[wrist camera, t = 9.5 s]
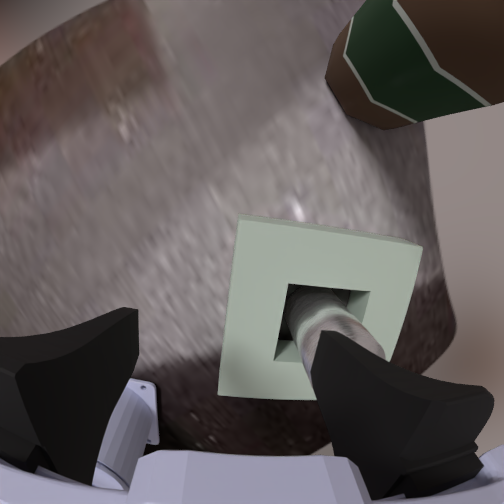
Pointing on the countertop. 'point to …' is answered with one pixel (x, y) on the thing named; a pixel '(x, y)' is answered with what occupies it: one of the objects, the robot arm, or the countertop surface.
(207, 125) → the countertop surface
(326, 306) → the steel peg
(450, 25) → the beer bottle
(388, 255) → the hole block
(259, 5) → the countertop surface
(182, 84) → the countertop surface
